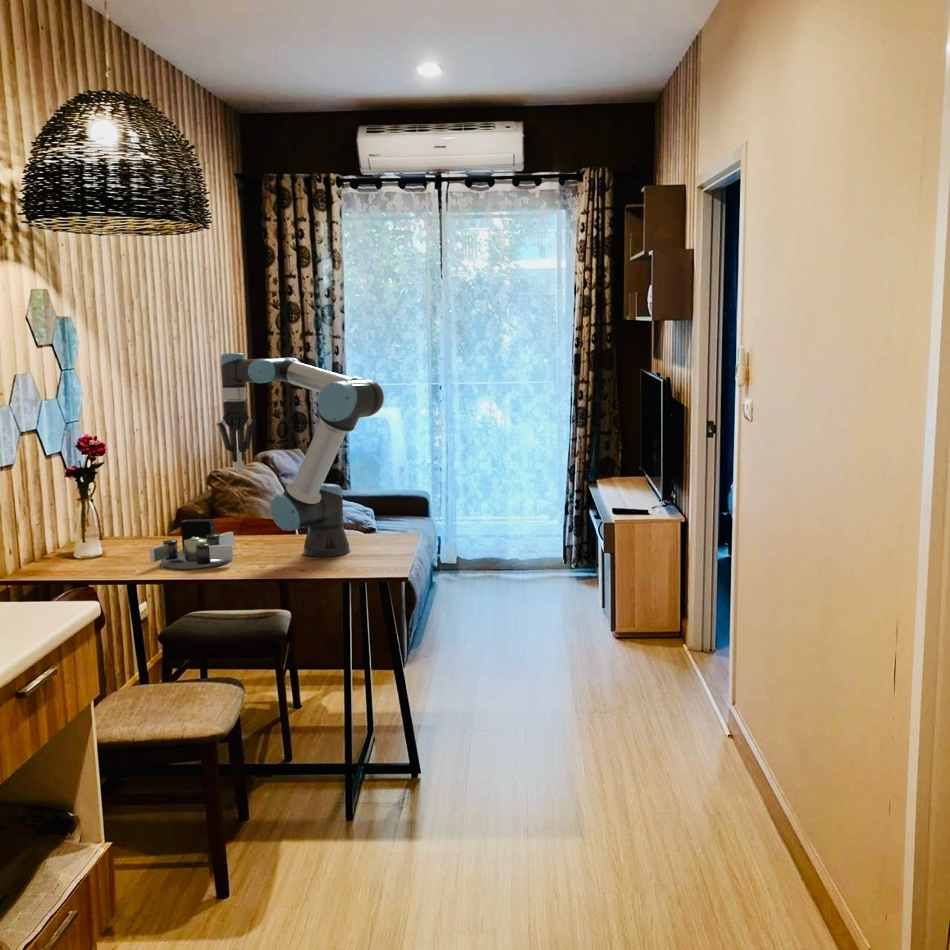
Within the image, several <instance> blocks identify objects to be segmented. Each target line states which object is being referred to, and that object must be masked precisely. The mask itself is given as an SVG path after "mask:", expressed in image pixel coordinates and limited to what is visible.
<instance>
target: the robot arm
mask: <svg viewBox="0 0 950 950" xmlns="http://www.w3.org/2000/svg"><path fill="white" fill-rule="evenodd" d="M220 368H221V369H220V370H221V383H222V399H223V402H222V405H223V417H222V420H221V421H218V422H216V426H217V428H218V429H219V432H220V435H221V438H222V441H223V445H224V448H225V450H226V451H228V452H230V453H231V461H232V462H233V463H234V471H235V472H237V473H241V472H243V471H244V470H243V462H245V452H246V450H249V449H250V446H251V442H252V435H253V429H254V427H255V425H256V423H257V422H256V420H255V419H251V418H250V416H249V414H248V402H247V384H246V383H251V384H252V383H253V384H254V383H256V384H265V383H269V382H285V383H288V384H291V385H295V386H298V387H301V388H304V389H307V390H310V391H314V392H317V393H318V395H317V401H316V402H317V405H318V406H317V410H318V418H319V420H320V422H319V424H318V426H317V429H316V430H315V433H314V435H313V437H312V440H311V442H310V445H309V447H308V449H307V451H306V452H305V455H304V458H303V460H302V462H301V465H300V466H299V469H298V471H297V472H296V476H295V477H294V479H293V480H291V481H288V483H287V484H286V486H285V488H284V489H283V490H284V491H283V492H282V494H278V495H276V496H274V497H273V498H272V499H271V502H270V506H269V507H270V509H269V510H270V515H271V517H272V520H273V522H274V523H275V525H276V526H277V527H278V528H280V529H281V530H283V531H297V530H299V529H302V528H307V533H306V536H305V540H304V545H303V554H304V555H306V556H309V557H314V558H315V557H316V558H317V557H318V558H322V557H323V558H325V557H328V558H329V557H335V556H336V557H337V556H338V557H339V556H342V555H345V554H347V553H349V552H350V548H351V547H350V543H349V541H348V537H347V535H346V532H345V528H344V506H343V505H344V504H343V503H344V502H343V498H344V497H343V491H342V487H341V486H340V485H338V484H335V483H324V482H325V480H326V477H327V475H328V474H329V471H330V470H331V467H332V464H333V463H334V461H335V459H336V456H337V455H338V453H339V452H338V451H339V450H340V448H341V445H342V443H343V441H344V440H345V436H346V435H347V434H348V433H350V432H352V431H354V430H355V427H356V425H357V423H358V422H359V419H361V418H366V417H367V418H368V417H371V416H373V415H375V414H377V413H378V412H379V411H380V409H382V407H383V404H384V400H385V394H384V391H383V388H382V387H381V386H380V385H379V383H378V382H377V381H375V380H372V379H370V378H366V377H361V376H358V375H357V376H353V377H350V376H347V375H344V374H340V373H337V372H333V371H329V370H326V369H323V368H320V367H315V366H312V365H309V364H305V363H302V362H301V361H299V359H297V358H295V357H290V356H289V357H287V356H285V357H276V358H275V357H274V358H255V359H254V358H252V359H251V358H249V359H246V358H245V353H242V352H240V353H239V352H227V353H222V354H221V357H220ZM246 424H247V425H246ZM226 425H227V427H228V430H227V428H226ZM245 425H246V429H245ZM227 431H229V435H228V432H227ZM244 431H245V435H244Z"/></svg>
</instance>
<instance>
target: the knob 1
mask: <svg viewBox="0 0 950 950" xmlns="http://www.w3.org/2000/svg"><path fill="white" fill-rule="evenodd" d="M178 554H179V552H178V539H175V538H174V539H164V540H162V544H160V545H157V546H152V547H150V548H149V557H150V558H149V560H150V562H152V563H156V562H159V561H161V560H162V559H166V560H172V559H177V558H178Z"/></svg>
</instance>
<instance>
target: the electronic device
mask: <svg viewBox="0 0 950 950" xmlns="http://www.w3.org/2000/svg"><path fill="white" fill-rule="evenodd" d="M180 528H181V531H180V532H181V542H182V543H181V545H182V550H183V551H185V548H184V540H186V539H191V538H192V537H199V538H206V535H209V534H215V521H214V519H211V518H203V519H202V518H201V519H200V518H197V519H194V518H193V519H185V520H182V521H181V523H180ZM206 539H207V538H206Z"/></svg>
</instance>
